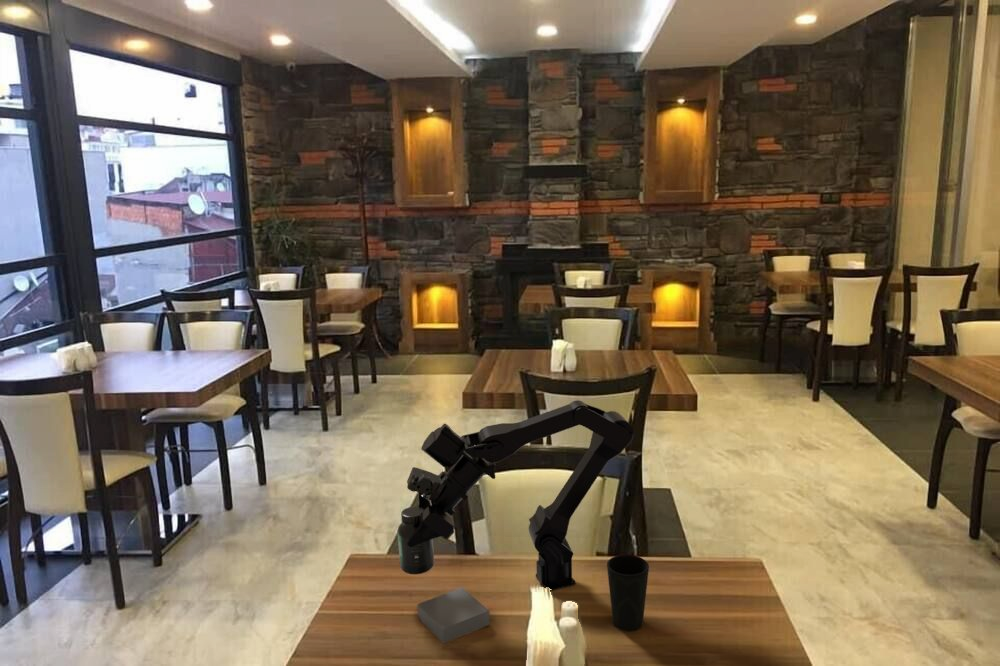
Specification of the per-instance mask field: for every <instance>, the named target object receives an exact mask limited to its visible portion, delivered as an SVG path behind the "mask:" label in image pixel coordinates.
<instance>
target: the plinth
mask: <svg viewBox="0 0 1000 666" xmlns="http://www.w3.org/2000/svg"><path fill="white" fill-rule="evenodd" d="M417 617H418V619H419V620H420V621H421V623H423V624H424V625H425V627H426V628H427V629H428V630H430V632H431V633H432V634H434V636H435V637H436V638H437V639H438V640H439V641H440V642H441V643H442V644H443V645H444V644H446V642H447V643H449V642H452V641H454V640H456V639H458V638H461V637H464V636H466V635H468V634H471V633H473V632H475V630H476V631H478V630H480V629H483V628H485V627H488V626H490V624H491V623H490V610H489V609H488V608H487V607H485V605H484V604H483V603H481V602H480V601H479V600H478V599H477V598H475V597H474V596H473V595H472V594H471V593H470V592H469V591H468V590H466V589H465V588H464V587H459V588H457V589H454V590H451V591H449V592H446V593H443V594H441V595H439V596H436V597H435V596H434V597H433V598H431V599H427V600H424V601H422V602H419V603H417Z"/></svg>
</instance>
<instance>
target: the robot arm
mask: <svg viewBox="0 0 1000 666" xmlns="http://www.w3.org/2000/svg"><path fill="white" fill-rule="evenodd" d="M577 426H582V427H584V428H586V429H588V430H589V431H591V432H592V434H591V438H590V443H589V447H588V449H587V450H586V452H585V453H584V455H582V458H581V459H580V460H579V463H578V464H577V465H576V467H575V469H574V470H573V471H572V473H571V475H570V476H569V477H568V479H567V481H566V482H565V484H564V485H563V486H562V488H561V489H560V491H559V493H558V494H557V496H556V497H555V499H554V500H553V502H552V503H550V504H549V505H547V506H546V507H545V508H544V506H542V504H539V505H538V506H537V507H536V510H535V513H534V514H533V515H532V516H531V517H530V518H529V519H528V521H529V525H528V533H529V536H530V538H531V540H532V543H533V546H534V548H535V550H536V552H537V553H538V555H537V556H538V560H536V563H535V564H536V574H535V577H536V579H537V581H538V582H539V583H540V585H542V586H543V587H544V586H545V587H549V588H550V589H552V590H551V591H554V590H558V589H562V588H565V587H566V588H567V587H570V586H573V585H574V586H575V585H576V580H575V579H574V578H573V560H572V559H573V556H574V552H573V550H572V548H571V546H570V544H569V541H568V540H567V538H566V537H567V534H568V529H569V525H570V520H571V518H572V517H573V515H574V513H575V511H576V510H577V509H578V508H579V505H580V504H581V503H582V501H583V499H584V498H585V497H586V495H587V494H588V492H589V490H590V489H591V488H592V486H593V484H594V483H595V482H596V480H597V478H598V477H599V475H600V474H601V472H602V471H603V469H605V466H606V465H607V463H608V462H610V460H612V459H614V458H615V457H617V456H618V455H620V454H621V453H622V452H623V451H624V450H625V449H626V448H627V447H628V446H629V445H630V443H631V442H632V441H633V438H634V435H635V434H634V429H633V428H634V427H632V424H631V423H630V422H629V421H627V419H625V417H624V416H623V415H622V414H620V413H619V412H617V411H616V410H615V411H614V410H613V411H611V410H610V411H605V410H603V409H601V408H598V407H596V406H593V405H591V404H587V403H585V402H584V401H582V400H578V399H577V400H574V401H573V400H572V402H569V403H568V404H566V405H563V406H559V407H557V408H555V409H552V410H549V411H546V412H544V413H541V414H538V415H536V416H531V417H529V418H526V419H524V420H522V421H518V422H512V423H511V422H510V423H508V422H504V423H503V422H502V423H497V424H492V425H486V426H484V427H482V428H481V429H480V430H479V431H477V432H472V433H467V434H463V435H461V436H460V435H459V434H458V433H456V432H455V431H454V430H452V428H451V427H450V426H449V425H448V424H447V423H443V424H442V425H441V426H440V427H437V428H436V429H435V430H434V431H431V432H430V433H429V434H428V435H427V437H426V439H425V440H424V441H423V443H422V446H421V451H422V452H424V453H425V454H427V455H428V456H429V457H430V458H431V459H433V461H435V462H437V463H438V464H439V465H440V466H442V467H443V468H446V467H448V468H449V470H448V471H446V470H444V471H443V470H442V471H441V472H440V473H439V474H436V473H433V472H431V471H428V470H425V469H423V468H422V469H421V468H419V467H415V466H414V467H412V468H411V471H410V473H409V476H408V477H407V480H406V483H407V486H406V487H407V489H408V490H409V491H411V492H415V493H417V495H418V498H417V499H418V503H417V504H416V506H415V507H422V508H424V509H425V511H424V513H420V516H421V523H420V524H419V526H418V527H417V529H416V530H415V532H414V533H413V535H412V536H411V538H410V539H409V541H408V542H407V545H408V546H410V547H413V546H416V545H418V544H421V543H423V542H426V541H428V540H431V539H433V540H434V539H437V538H439V537H441V538H444V540H449V539H450V538H451V537H452V535H454V533H455V526H454V521H453V518H452V517H451V516H452V515H453V514H454V513H456V511H455V507H456V506H457V505H458V504H459V503H460V502H461V501H462V500H463V501H466V500H467V499H469V494H468V493H469V492H470V491H471V490H472V489H473V488H474V486H475V485H476V484H478V482H479V481H480V480H481V479H482V478H483V476H485V475H487V476H488V477H490V478H491V479H492V480H495V479H496V471H495V469H496V463H500V462H502V461H504V460H505V459H507V458H509V457H512V456H513V455H515V454H516V453H517V452H518V450H520V449H521V448H522V447H525V446H526V445H528V444H530V443H532V442H533V443H534V442H535V441H538V440H541V439H544V438H546V437H549V436H550V437H551V436H552V435H555V434H558V433H560V432H561V433H562V432H563V431H566V430H569V429H573V428H574V427H577ZM449 515H450V516H449ZM545 587H544V588H545Z"/></svg>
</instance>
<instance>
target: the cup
mask: <svg viewBox="0 0 1000 666" xmlns="http://www.w3.org/2000/svg"><path fill="white" fill-rule="evenodd" d="M606 567H607V576H608V579H607V580H608V588H609V596H610V597H609V599H610V607H611V608H610V609H611V615H612V616H611V618H612V623H613V626H614V627H615V628H616V629H618V630H620V631H622V632H636V631H639V630H640V629H641V628H642V627H643V624H644V616H645V615H644V614H645V607H646V597H647V588H648V587H647V586H648V579H649V570H650V566H649V562H647V561H646V559H644V558H643V557H641V556H637V555H633V554H619V555H615V556H613V557H611V558H609V559H608V561H607V562H606Z"/></svg>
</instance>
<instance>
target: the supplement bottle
mask: <svg viewBox="0 0 1000 666" xmlns="http://www.w3.org/2000/svg"><path fill="white" fill-rule="evenodd" d="M424 511H425V509H424V508H422V507H416V506H409V507H406V508H403V510H402V511H401V514H400V516H401V523H400V524H399V525H398V527H397V543H398V555H399V564H400V570H401V571H403V572H404V573H405V574H408V575H422V574H425V573H428V572H430V571H431V569H432V568H433V567H434V564H435V557H434V556H435V554H434V541H433V540H434V539H431V540H428V541H426V542H423V543H421V544H418V545H416V546H413V547H410V546H408V545H407V542H408V541H409V539H410V538H411V536H412V535H413V533H414V532H415V530H416V529H417V527H418V526H419V524H420V523H421V516H420V513H424Z"/></svg>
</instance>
